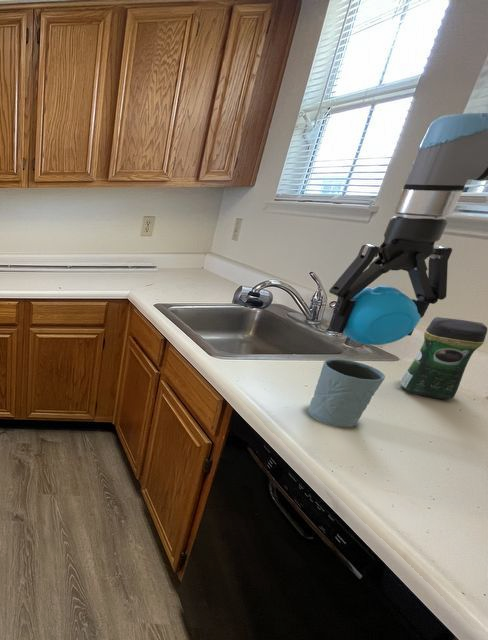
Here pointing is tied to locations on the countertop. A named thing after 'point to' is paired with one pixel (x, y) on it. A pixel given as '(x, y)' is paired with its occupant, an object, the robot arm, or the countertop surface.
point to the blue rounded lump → (381, 316)
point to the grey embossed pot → (344, 392)
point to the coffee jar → (443, 357)
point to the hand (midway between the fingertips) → (369, 332)
